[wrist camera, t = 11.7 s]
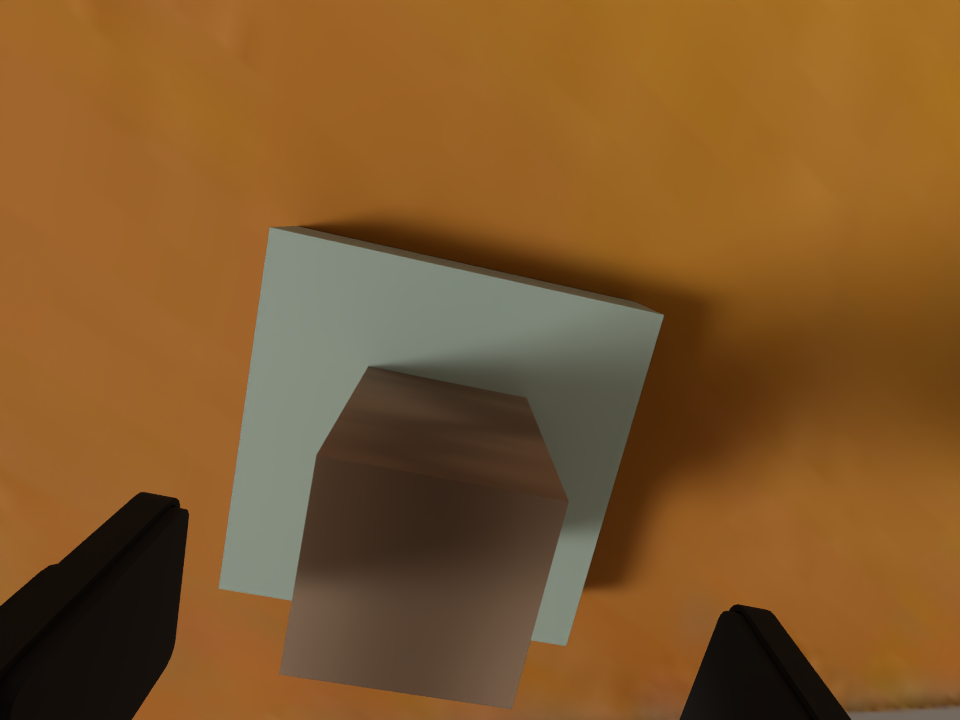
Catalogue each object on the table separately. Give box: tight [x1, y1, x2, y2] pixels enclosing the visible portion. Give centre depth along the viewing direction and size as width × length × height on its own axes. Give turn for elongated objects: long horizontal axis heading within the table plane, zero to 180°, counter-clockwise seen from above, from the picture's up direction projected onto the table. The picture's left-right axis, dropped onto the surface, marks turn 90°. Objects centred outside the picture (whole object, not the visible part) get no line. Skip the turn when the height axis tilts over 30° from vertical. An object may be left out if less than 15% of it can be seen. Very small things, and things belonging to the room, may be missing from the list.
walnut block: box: [279, 366, 569, 709], centre depth 15 cm, size 5×5×7 cm
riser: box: [219, 226, 664, 646], centre depth 20 cm, size 12×12×3 cm
